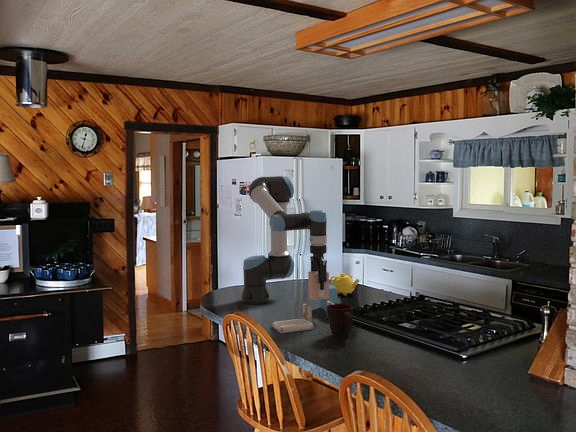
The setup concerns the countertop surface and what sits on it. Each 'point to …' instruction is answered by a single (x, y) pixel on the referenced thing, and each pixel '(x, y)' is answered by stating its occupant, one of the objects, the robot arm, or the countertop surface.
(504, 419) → the countertop surface
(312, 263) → the robot arm
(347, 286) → the teapot
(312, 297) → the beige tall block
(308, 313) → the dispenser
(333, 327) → the cup
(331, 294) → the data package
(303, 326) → the tray
